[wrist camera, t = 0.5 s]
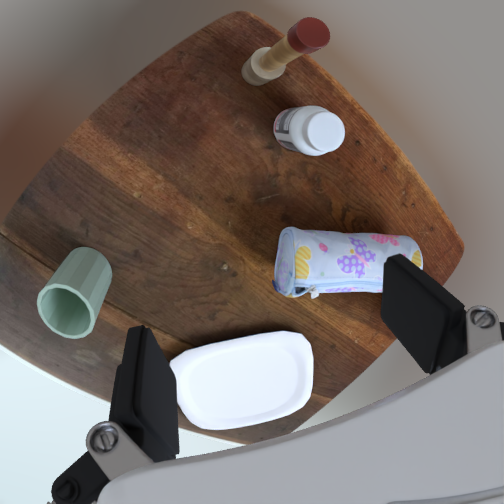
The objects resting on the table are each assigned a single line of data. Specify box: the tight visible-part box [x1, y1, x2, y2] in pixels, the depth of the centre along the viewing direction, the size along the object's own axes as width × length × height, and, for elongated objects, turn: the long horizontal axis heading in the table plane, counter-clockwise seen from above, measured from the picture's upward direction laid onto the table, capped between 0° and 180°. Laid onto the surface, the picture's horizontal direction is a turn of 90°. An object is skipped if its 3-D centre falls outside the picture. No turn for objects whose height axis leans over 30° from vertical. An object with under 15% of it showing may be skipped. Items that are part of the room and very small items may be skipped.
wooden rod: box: [241, 17, 330, 86], centre depth 23 cm, size 4×4×18 cm
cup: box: [37, 247, 112, 339], centre depth 33 cm, size 7×7×10 cm
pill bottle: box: [274, 106, 345, 156], centre depth 31 cm, size 5×5×10 cm
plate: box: [169, 330, 313, 430], centre depth 50 cm, size 25×25×2 cm
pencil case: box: [272, 227, 423, 299], centre depth 39 cm, size 21×9×10 cm, turn 84°
